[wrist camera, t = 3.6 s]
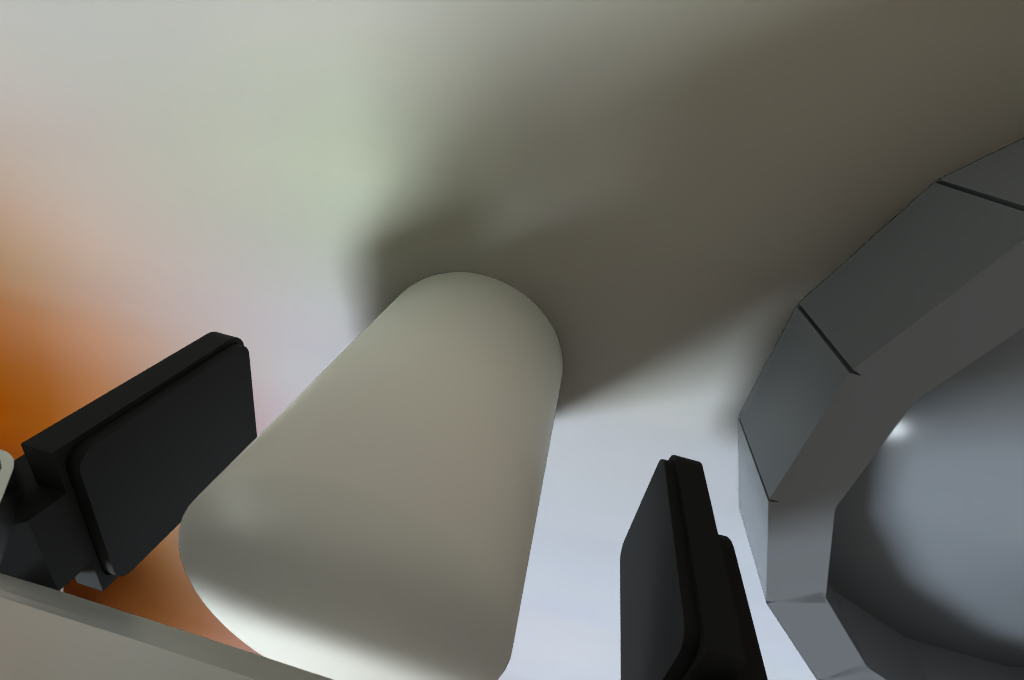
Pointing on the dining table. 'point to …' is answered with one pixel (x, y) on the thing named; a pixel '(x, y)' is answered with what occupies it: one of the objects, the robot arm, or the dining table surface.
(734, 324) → the dining table surface
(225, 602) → the white egg
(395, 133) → the dining table surface
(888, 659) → the round bowl
